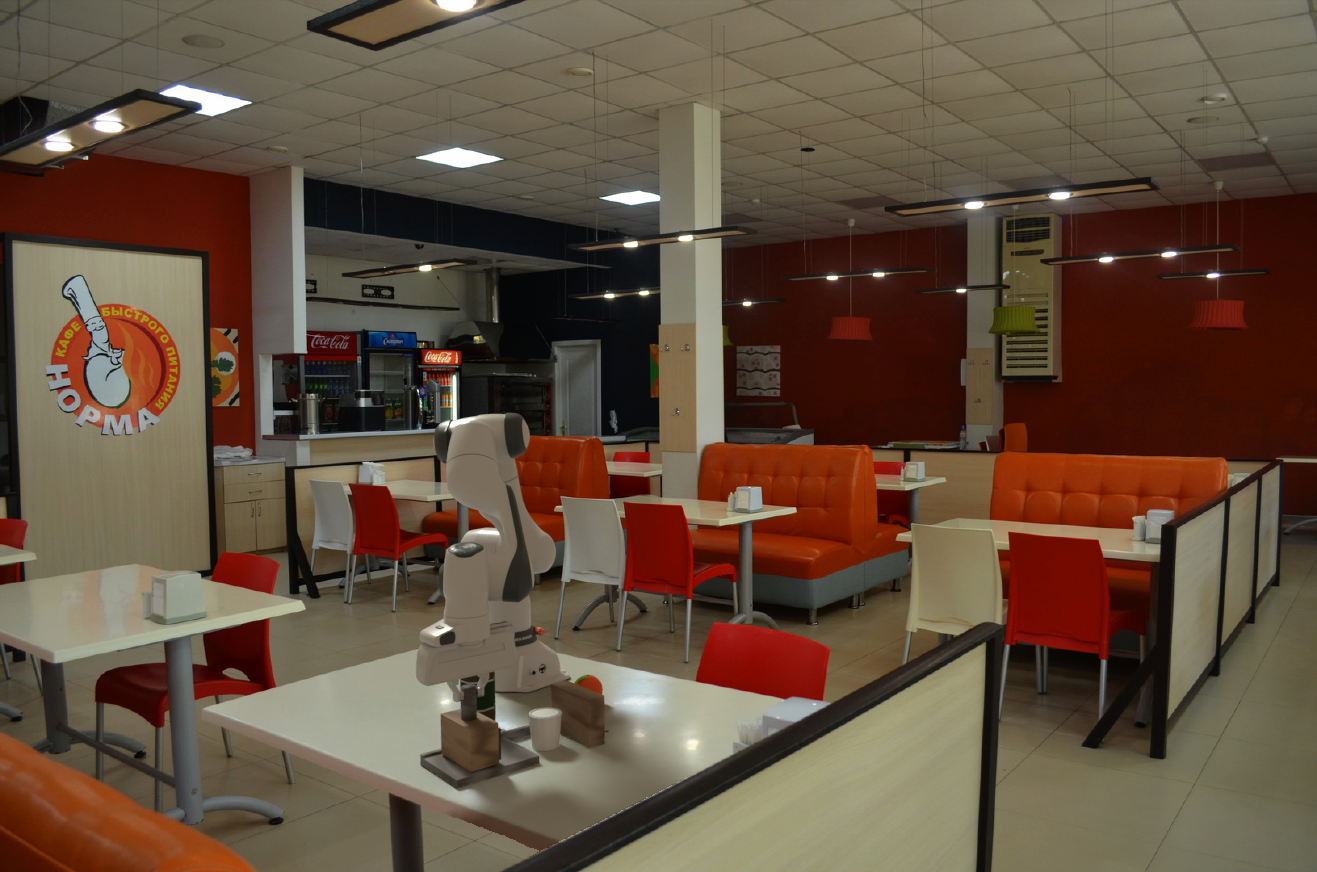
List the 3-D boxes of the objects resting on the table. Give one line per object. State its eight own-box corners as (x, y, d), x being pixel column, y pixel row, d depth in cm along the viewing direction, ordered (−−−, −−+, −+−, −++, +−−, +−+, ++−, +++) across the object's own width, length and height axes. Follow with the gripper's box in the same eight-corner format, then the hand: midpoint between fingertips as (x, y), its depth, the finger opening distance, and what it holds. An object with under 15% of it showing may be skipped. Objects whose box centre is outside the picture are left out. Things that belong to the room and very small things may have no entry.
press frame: (564, 723, 208) (563, 679, 207) (604, 743, 196) (604, 695, 196) (420, 764, 186) (419, 714, 185) (456, 788, 174) (455, 734, 174)
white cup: (529, 740, 198) (529, 707, 198) (562, 738, 199) (562, 706, 198) (528, 752, 191) (527, 718, 191) (562, 751, 192) (561, 717, 192)
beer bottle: (466, 735, 201) (464, 624, 200) (456, 724, 208) (454, 616, 207) (501, 729, 205) (499, 619, 204) (490, 718, 212) (488, 612, 210)
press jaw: (472, 745, 191) (470, 675, 190) (502, 762, 182) (501, 689, 181) (441, 753, 186) (439, 682, 186) (471, 772, 177) (469, 697, 177)
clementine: (581, 713, 215) (580, 682, 214) (563, 705, 220) (563, 675, 220) (609, 705, 220) (608, 674, 220) (590, 697, 225) (590, 668, 225)
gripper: (505, 616, 192) (506, 683, 192) (411, 633, 178) (413, 705, 179) (522, 622, 187) (523, 691, 187) (426, 640, 174) (428, 714, 174)
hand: (468, 698), depth 183 cm, fingers closed on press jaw, 3 cm apart
